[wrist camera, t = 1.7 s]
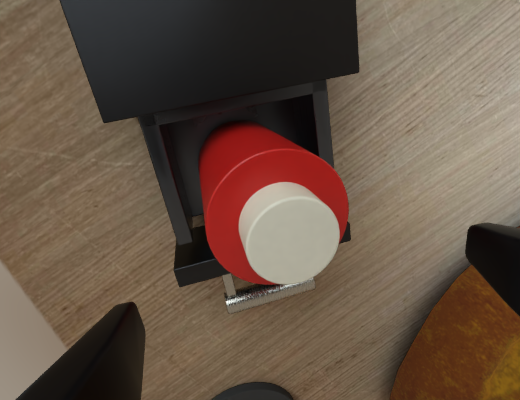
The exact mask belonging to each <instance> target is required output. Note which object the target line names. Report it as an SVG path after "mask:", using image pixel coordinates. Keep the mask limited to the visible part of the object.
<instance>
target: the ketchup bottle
mask: <svg viewBox="0 0 520 400" xmlns="http://www.w3.org/2000/svg"><path fill="white" fill-rule="evenodd" d="M198 166H199V176H200V185H201V194H202V203H203V212H204V221H205V230H206V236H207V241H208V243H209V246H210V249H211V251H212V253H213V254H214V256H215V258H216V259H217V260H218V262H219V263H220V264H221V265H222V266H223V267H224V268H225V269H226V270H228V271H229V272H230V273H232V274H233V275H235V276H237V277H238V278H240V279H243V280H245V281H248V282H252V283H256V284H263V285H275V284H283V285H290V284H297V283H301V282H304V281H307V280H309V279H311V278H313V277H314V276H316V275H317V274H319V273H320V272H321V271H322V270H323V269H325V268H326V266H327V265H328V264H329V263H330V262H331V260H332V259H333V257H334V255H335V253H336V251H337V248H338V245H339V243H340V241H341V239H342V237H343V235H344V232H345V229H346V225H347V221H348V213H349V208H348V198H347V193H346V190H345V187H344V184H343V182H342V180H341V178H340V177H339V175H338V174H337V172H336V171H335V170H334V169H333V168H332V167H331V165H329V164H328V163H327V162H326V161H325V160H323V159H321V158H320V157H318V156H317V155H315V154H313V153H311V152H309V151H308V150H306V149H304V148H302V147H300V146H299V145H297V144H295V143H293V142H291V141H290V140H288V139H286V138H284V137H282V136H280V135H279V134H277V133H275V132H273V131H271V130H270V129H268V128H266V127H264V126H262V125H261V124H258V123H256V122H253V121H248V120H235V121H230V122H227V123H225V124H222V125H220V126H219V127H217V128H216V129H215V130H213V131H212V132H211V133H210V134H209V135H208V137H207V138H206V139H205V141H204V143H203V145H202V147H201V150H200V153H199V160H198Z"/></svg>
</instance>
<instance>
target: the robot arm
mask: <svg viewBox="0 0 520 400" xmlns="http://www.w3.org/2000/svg"><path fill="white" fill-rule="evenodd" d="M465 254H466V257H467V259H468V261H469V262H470V263H471V264H472V265H473V266H474V268H475V269H476V270H477V271H478V272H479V273H480V274H481V275H482V277H483V278H484V279H485V280H486V281H487V282H488V283H489V285H490V286H491V287H492V288H493V289H494V290H495V291H496V293H497V294H498V295H499V296H500V297H501V298H502V299H503V300H504V301H505V303H506V304H507V305H508V306H509V307H510V308H511V309H512V310H513V311H514V312H515V313H516V314H517V315H518V316H519V317H520V228H514V227H509V226H503V225H497V224H492V223H481V224H476V225H472V226H471V227H469V229H468V233H467V241H466V249H465ZM144 350H145V328H144V324H143V322H142V319H141V317H140V314H139V311H138V309H137V306H136V304H135V303H134V302H127V303H123V304H118V305H116V306H115V307H113V308H112V309H111V310H110V311H109V312H108V313H107V314H106V315H105V316H104V317H103V318H102V319H101V320H100V321H99V322H97V323H96V324H95V325H94V326H93V327H92V328H91V329H90V330H89V331H88V332H87V333H86V334H85V335H84V336H83V337H82V338H80V339H79V340H78V341H77V342H76V343H75V344H74V345H73V346H72V347H71V348H70V349H69V350H68V351H67V352H66V353H65V354H63V355H62V356H61V357H60V358H59V359H58V360H57V361H56V362H55V363H54V364H53V365H52V366H51V367H50V368H49V369H48V370H46V371H45V372H44V374H42V375H41V376H40V377H39V378H38V379H37V380H36V381H35V382H34V383H33V384H32V385H31V386H29V387H28V388H27V389H26V390H25V391H24V392H23V393H22V394H21V395H20V396H19V397H18V398H17V399H16V400H141V391H142V378H143V364H144Z"/></svg>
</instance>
